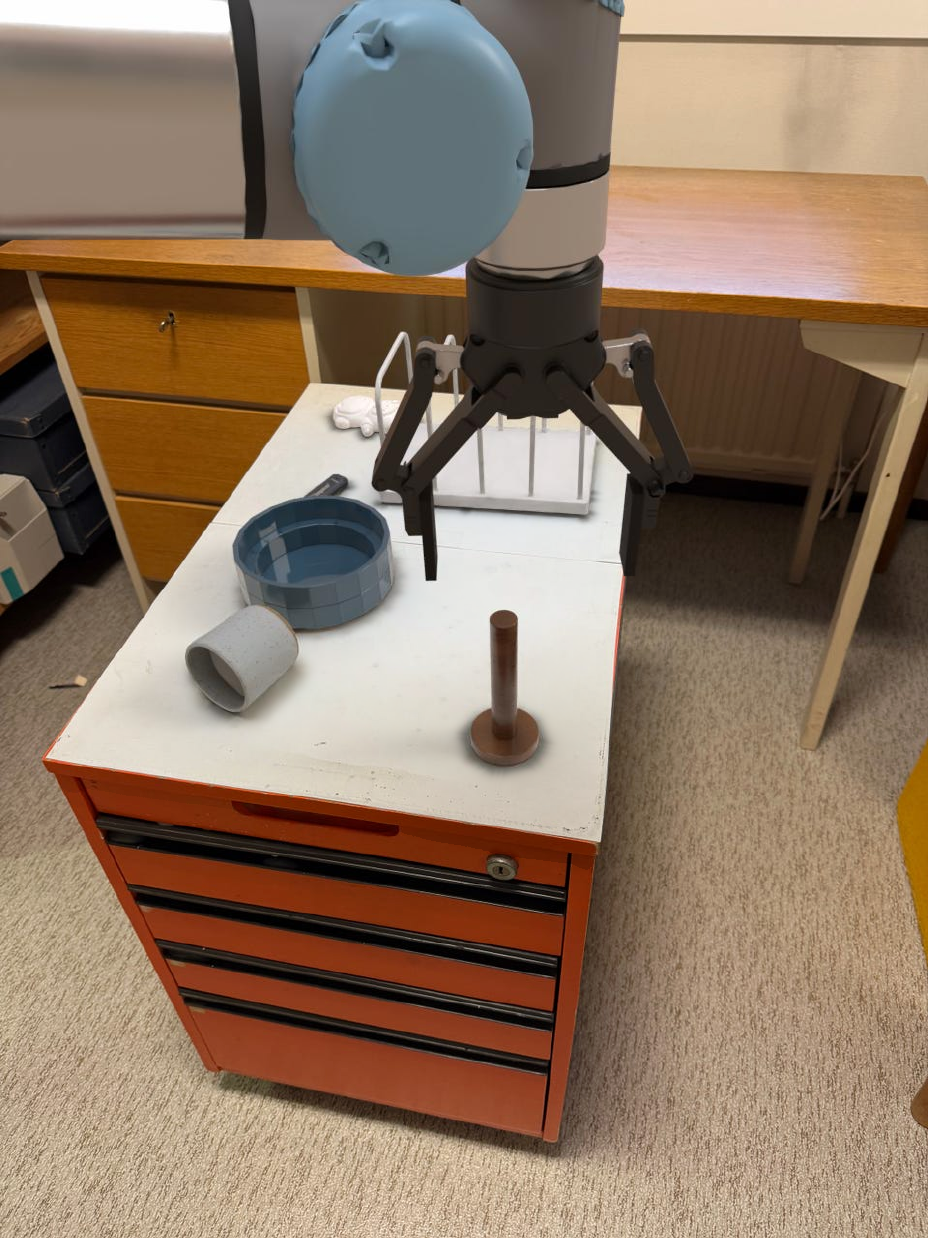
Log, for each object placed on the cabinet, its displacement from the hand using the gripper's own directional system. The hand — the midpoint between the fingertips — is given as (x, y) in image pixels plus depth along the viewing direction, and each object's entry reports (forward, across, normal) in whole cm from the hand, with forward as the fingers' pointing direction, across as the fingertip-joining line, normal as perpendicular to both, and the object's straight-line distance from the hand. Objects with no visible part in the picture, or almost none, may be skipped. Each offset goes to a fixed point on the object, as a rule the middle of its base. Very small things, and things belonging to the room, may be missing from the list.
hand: (529, 567), depth 61 cm
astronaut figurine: (+22, +18, -62) cm, 68 cm away
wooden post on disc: (+22, +2, -3) cm, 22 cm away
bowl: (+22, +21, -26) cm, 40 cm away
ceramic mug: (+22, +27, -11) cm, 36 cm away
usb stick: (+22, +23, -42) cm, 53 cm away
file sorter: (+22, +2, -47) cm, 52 cm away
